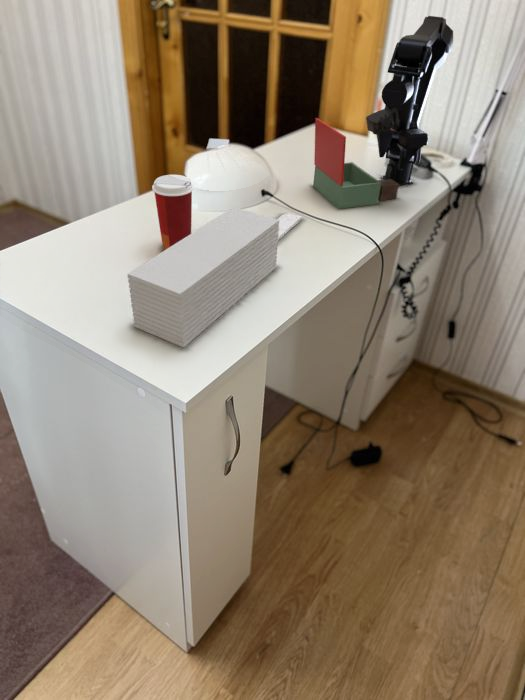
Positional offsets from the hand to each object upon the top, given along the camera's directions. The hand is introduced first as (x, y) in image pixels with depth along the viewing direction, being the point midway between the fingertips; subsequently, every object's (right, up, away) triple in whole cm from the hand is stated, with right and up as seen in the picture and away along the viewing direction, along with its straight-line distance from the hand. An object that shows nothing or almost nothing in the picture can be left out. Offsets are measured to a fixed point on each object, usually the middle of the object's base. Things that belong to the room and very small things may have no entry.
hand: (390, 163), depth 137 cm
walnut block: (0, -7, +6) cm, 9 cm away
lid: (-16, +2, -4) cm, 17 cm away
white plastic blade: (-29, -20, -12) cm, 38 cm away
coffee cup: (-52, -26, -21) cm, 62 cm away
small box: (-45, -2, +8) cm, 46 cm away
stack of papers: (-43, -38, -35) cm, 67 cm away
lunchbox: (-11, -7, +5) cm, 14 cm away
